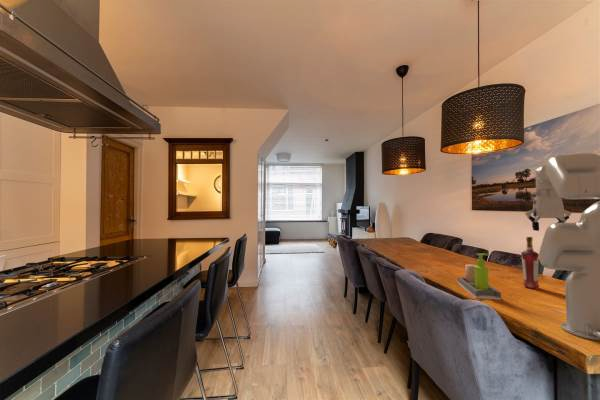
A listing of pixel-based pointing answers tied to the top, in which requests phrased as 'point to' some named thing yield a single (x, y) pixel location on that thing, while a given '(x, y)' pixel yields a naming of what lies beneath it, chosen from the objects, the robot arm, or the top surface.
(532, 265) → the liquor
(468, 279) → the rail
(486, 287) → the soap dispenser
